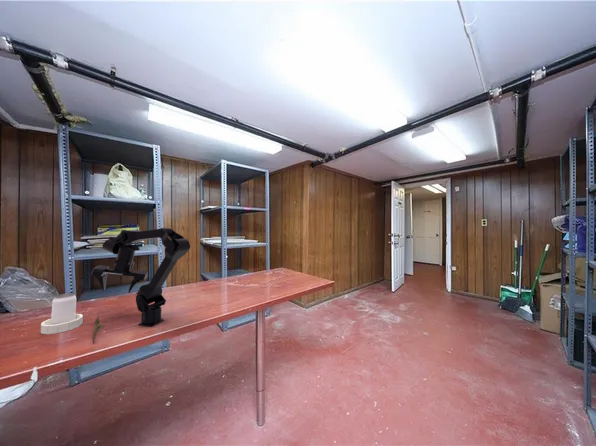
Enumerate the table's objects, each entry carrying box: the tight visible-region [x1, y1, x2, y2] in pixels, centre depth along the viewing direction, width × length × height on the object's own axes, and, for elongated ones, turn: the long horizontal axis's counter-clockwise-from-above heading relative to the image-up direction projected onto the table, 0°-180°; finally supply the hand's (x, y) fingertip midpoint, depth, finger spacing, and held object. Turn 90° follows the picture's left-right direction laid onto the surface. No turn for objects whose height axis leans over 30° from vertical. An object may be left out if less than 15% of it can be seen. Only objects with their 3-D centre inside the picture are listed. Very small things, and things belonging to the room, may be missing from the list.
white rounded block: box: [50, 292, 77, 325], centre depth 84 cm, size 6×6×12 cm
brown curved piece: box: [92, 314, 105, 343], centre depth 79 cm, size 15×2×5 cm, turn 37°
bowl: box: [40, 313, 84, 335], centre depth 84 cm, size 11×11×3 cm
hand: (116, 291), depth 94 cm, fingers open, 9 cm apart
